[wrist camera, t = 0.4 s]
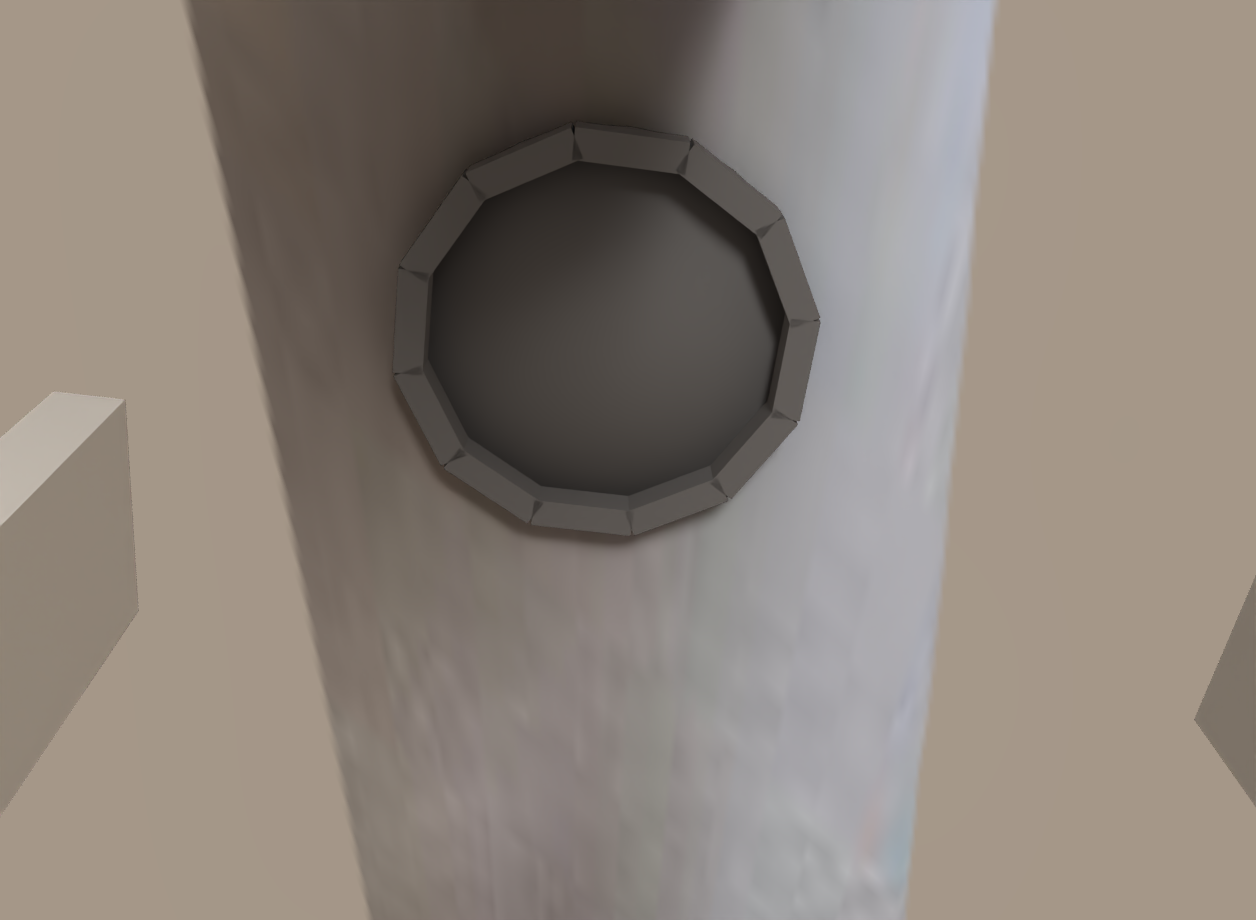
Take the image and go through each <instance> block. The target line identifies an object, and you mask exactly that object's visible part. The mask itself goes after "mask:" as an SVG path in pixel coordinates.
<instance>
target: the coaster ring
mask: <svg viewBox="0 0 1256 920" xmlns="http://www.w3.org/2000/svg"><path fill="white" fill-rule="evenodd" d="M819 318H820V316H819V313H818V310H817V307H816V305H815V302H814V299H813V296H812V293H811V291H810V288H809V285H808V282H807V279H806V277H805V274H804V271H803V268H802V265H801V263H800V260H799V257H798V254H797V251H796V249H795V246H794V243H793V240H792V237H791V235H790V232H789V229H788V226H787V223H786V221H785V218H784V216H783V215H782V213H781V211H780V210H779V209H778V207H777V206H776V205H775V204H774V203H772V202H771V201H770V200H769V199H767V198H766V197H765V196H764V195H762V194H761V193H760V192H759V191H757V190H756V189H755V188H754V187H752V186H751V185H750V184H749V183H747V182H746V181H745V180H744V179H743V178H742V177H741V176H740V175H739V174H737V173H736V172H735V171H734V170H733V169H731V168H730V167H728V166H727V165H726V164H724V163H723V162H721V161H720V160H719V159H717V158H716V157H715V156H714V155H712V154H711V153H710V152H709V151H708V150H706V149H705V148H704V147H703V146H701V145H700V144H699V143H698V142H696V141H695V140H694V139H693V138H692V139H691V140H689V138H688V136H681V135H674V134H666V133H659V132H654V131H650V130H645V129H640V128H635V127H625V126H611V125H600V124H593V123H585V122H578V121H576V126H575V127H574V126H573V123H572V122H571V123H568V124H566V125H564V126H561V127H559V128H557V129H554V130H552V131H550V132H547V133H545V134H543V135H540V136H537V137H534V138H531V139H528V140H526V141H523V142H520V143H518V144H516V145H514V146H513V147H511V148H509V149H507V150H505V151H503V152H501V153H499V154H496V155H494V156H492V157H489V158H487V159H485V160H482V161H480V162H478V163H475V164H473V165H471V166H469V168H468V170H467V169H466V170H465V171H464V173H463V174H462V176H461V177H460V178H459V180H458V181H457V183H456V184H455V185H454V187H453V188H452V190H451V191H450V193H449V194H448V195H447V197H446V198H445V200H444V201H443V203H442V204H441V205H440V207H439V208H438V210H437V211H436V213H435V214H434V215H433V217H432V218H431V220H430V221H429V223H428V224H427V225H426V227H425V228H424V230H423V231H422V233H421V234H420V235H419V237H418V238H417V240H416V241H415V242H414V244H413V245H412V247H411V248H410V250H409V251H408V252H407V254H406V255H405V257H404V258H403V260H402V262H401V263H400V267H399V268H398V278H397V297H396V316H395V336H394V355H393V373H395V374H394V378H395V380H396V382H397V384H398V386H399V388H400V390H401V392H402V393H403V395H404V397H405V399H406V401H407V403H408V405H409V407H410V408H411V410H412V412H413V414H414V416H415V418H416V420H417V422H418V424H419V425H420V427H421V429H422V431H423V433H424V435H425V437H426V439H427V440H428V442H429V444H430V446H431V448H432V450H433V452H434V454H435V456H436V457H437V459H438V461H439V463H440V465H444V464H445V466H444V469H445V470H447V471H448V472H450V473H451V474H453V475H454V476H456V477H457V478H459V479H460V480H462V481H463V482H465V483H466V484H468V485H469V486H471V487H472V488H474V489H475V490H477V491H478V492H480V493H482V494H483V495H485V496H486V497H488V498H489V499H491V500H492V501H494V502H495V503H497V504H498V505H500V506H501V507H503V508H504V509H506V510H507V511H509V512H510V513H512V514H513V515H515V516H516V517H518V518H520V519H521V520H523V521H524V522H526V523H528V522H529V521H530V520H531V518H532V521H531V525H536V526H545V527H554V528H563V529H572V530H581V531H590V532H598V533H607V534H616V535H625V536H631V529H632V531H633V534H634V536H635V535H637V534H640V533H643V532H646V531H648V530H651V529H654V528H656V527H659V526H662V525H665V524H667V523H670V522H673V521H675V520H678V519H681V518H684V517H686V516H689V515H692V514H694V513H697V512H700V511H703V510H705V509H708V508H711V507H713V506H716V505H719V504H721V503H724V502H727V501H728V499H727V496H728V497H729V498H731V499H732V498H733V496H734V495H735V494H736V493H737V492H738V491H739V490H740V489H741V487H742V486H743V485H744V484H745V483H746V482H747V481H748V480H749V479H750V477H751V476H752V475H753V474H754V473H755V472H756V471H757V470H758V469H759V467H760V466H761V465H762V464H763V463H764V462H765V461H766V460H767V458H768V457H769V456H770V455H771V454H772V453H773V452H774V451H775V450H776V448H777V447H778V446H779V445H780V444H781V443H782V442H783V441H784V440H785V438H786V437H787V436H788V435H789V434H790V433H791V432H792V431H793V430H794V428H795V427H796V426H797V425H798V424H797V421H800V417H801V412H802V407H803V403H804V398H805V393H806V389H807V384H808V379H809V374H810V370H811V365H812V360H813V355H814V351H815V346H816V341H817V336H818V332H819V327H820V320H819Z"/></svg>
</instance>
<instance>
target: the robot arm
mask: <svg viewBox="0 0 1256 920" xmlns="http://www.w3.org/2000/svg"><path fill="white" fill-rule="evenodd" d="M137 612H138V596H137V579H136V563H135V547H134V531H133V515H132V500H131V483H130V467H129V451H128V434H127V418H126V403H125V399H117V398H109V397H100V396H91V395H81V394H74V393H64V392H56V391H53V392H52V393H51V394H50V395H48V396H47V397H46V398H45V399H44V400H43V401H42V402H40V403H39V404H38V405H37V406H36V407H35V408H34V409H32V411H30V412H29V413H28V414H27V415H26V416H24V417H23V418H22V419H21V420H20V421H19V422H18V423H16V424H15V425H14V426H13V427H12V428H11V429H10V430H8V431H7V432H6V433H5V434H4V435H3V436H2V437H0V816H1V814H2V813H3V812H4V810H5V808H6V807H7V806H8V804H9V803H10V801H11V800H12V798H13V797H14V795H15V794H16V792H17V791H18V789H19V788H20V786H21V785H22V783H23V782H24V780H25V779H26V777H27V776H28V774H29V773H30V772H31V770H32V769H33V767H34V766H35V764H36V762H37V761H38V760H39V758H40V757H41V755H42V754H43V752H44V751H45V749H46V748H47V746H48V745H49V743H50V742H51V740H52V739H53V737H54V736H55V734H56V733H57V731H58V730H59V728H60V727H61V725H62V724H63V722H64V721H65V719H66V718H67V717H68V715H69V713H70V712H71V711H72V709H73V708H74V706H75V705H76V703H77V702H78V700H79V699H80V697H81V696H82V694H83V693H84V691H85V690H86V688H87V687H88V685H89V684H90V682H91V681H92V679H93V678H94V676H95V675H96V673H97V672H98V670H99V669H100V667H101V666H102V665H103V663H104V661H105V660H106V658H107V657H108V656H109V654H110V653H111V651H112V650H113V648H114V647H115V645H116V644H117V642H118V641H119V639H120V638H121V636H122V635H123V633H124V632H125V630H126V629H127V627H128V626H129V624H130V622H131V621H132V620H133V618H134V617H135V615H136V614H137ZM1194 720H1195V721H1196V723H1197V724H1198V726H1199V727H1200V728H1201V730H1202V731H1203V733H1204V734H1205V735H1206V737H1207V738H1208V740H1209V741H1210V742H1211V744H1212V745H1213V747H1214V748H1215V750H1216V751H1217V752H1218V754H1219V755H1220V757H1221V758H1222V760H1223V761H1224V762H1225V764H1226V765H1227V767H1228V768H1229V769H1230V771H1231V772H1232V774H1233V775H1234V776H1235V778H1236V779H1237V781H1238V782H1239V784H1240V785H1241V786H1242V788H1243V789H1244V791H1245V792H1246V794H1247V795H1248V796H1249V798H1250V799H1251V801H1252V802H1253V803H1254V805H1255V806H1256V577H1255V579H1254V581H1253V584H1252V586H1251V588H1250V591H1249V593H1248V595H1247V598H1246V600H1245V602H1244V605H1243V607H1242V609H1241V612H1240V614H1239V616H1238V619H1237V621H1236V623H1235V626H1234V628H1233V630H1232V633H1231V635H1230V637H1229V640H1228V642H1227V644H1226V647H1225V649H1224V651H1223V654H1222V656H1221V658H1220V661H1219V663H1218V666H1217V668H1216V670H1215V672H1214V675H1213V677H1212V679H1211V682H1210V684H1209V686H1208V689H1207V691H1206V694H1205V696H1204V698H1203V700H1202V703H1201V705H1200V708H1199V710H1198V712H1197V715H1196V717H1195V719H1194Z"/></svg>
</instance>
